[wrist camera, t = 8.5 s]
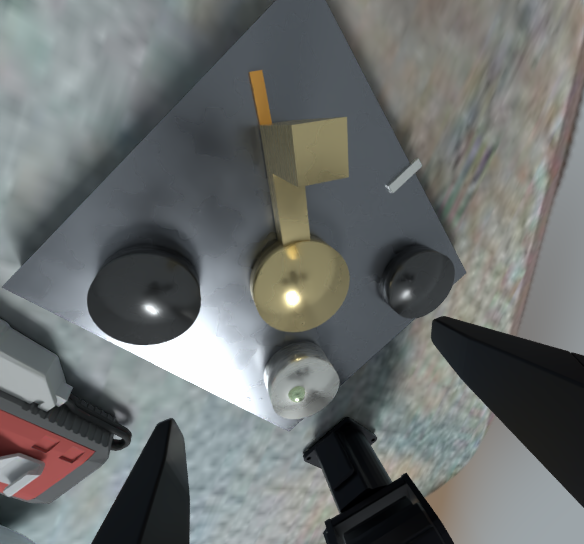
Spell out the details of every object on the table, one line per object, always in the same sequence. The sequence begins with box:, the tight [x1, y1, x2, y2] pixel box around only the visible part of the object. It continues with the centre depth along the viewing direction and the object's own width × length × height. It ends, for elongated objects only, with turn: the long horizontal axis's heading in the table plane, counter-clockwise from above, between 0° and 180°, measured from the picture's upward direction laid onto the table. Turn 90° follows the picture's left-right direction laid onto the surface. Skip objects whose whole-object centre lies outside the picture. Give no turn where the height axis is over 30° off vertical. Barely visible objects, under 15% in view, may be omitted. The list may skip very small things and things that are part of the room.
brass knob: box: [250, 117, 350, 332], centre depth 15 cm, size 12×6×6 cm, turn 7°
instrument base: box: [2, 0, 466, 431], centre depth 19 cm, size 22×20×5 cm
